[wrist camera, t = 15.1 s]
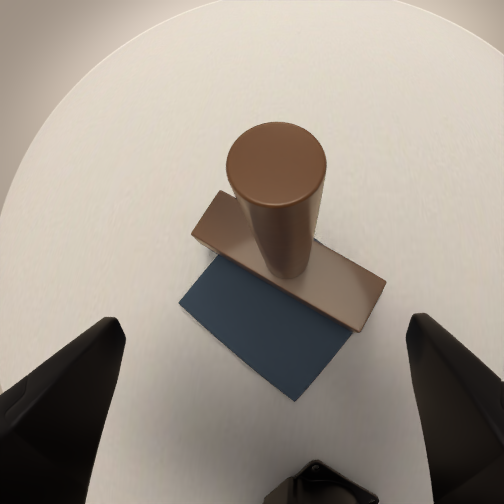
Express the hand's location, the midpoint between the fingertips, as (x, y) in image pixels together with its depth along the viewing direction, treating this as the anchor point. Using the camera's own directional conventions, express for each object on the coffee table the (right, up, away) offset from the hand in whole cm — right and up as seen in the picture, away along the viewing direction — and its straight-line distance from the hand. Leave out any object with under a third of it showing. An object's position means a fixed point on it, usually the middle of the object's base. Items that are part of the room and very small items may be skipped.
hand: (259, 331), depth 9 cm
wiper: (+2, +1, +11) cm, 12 cm away
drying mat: (+2, -1, +11) cm, 11 cm away
